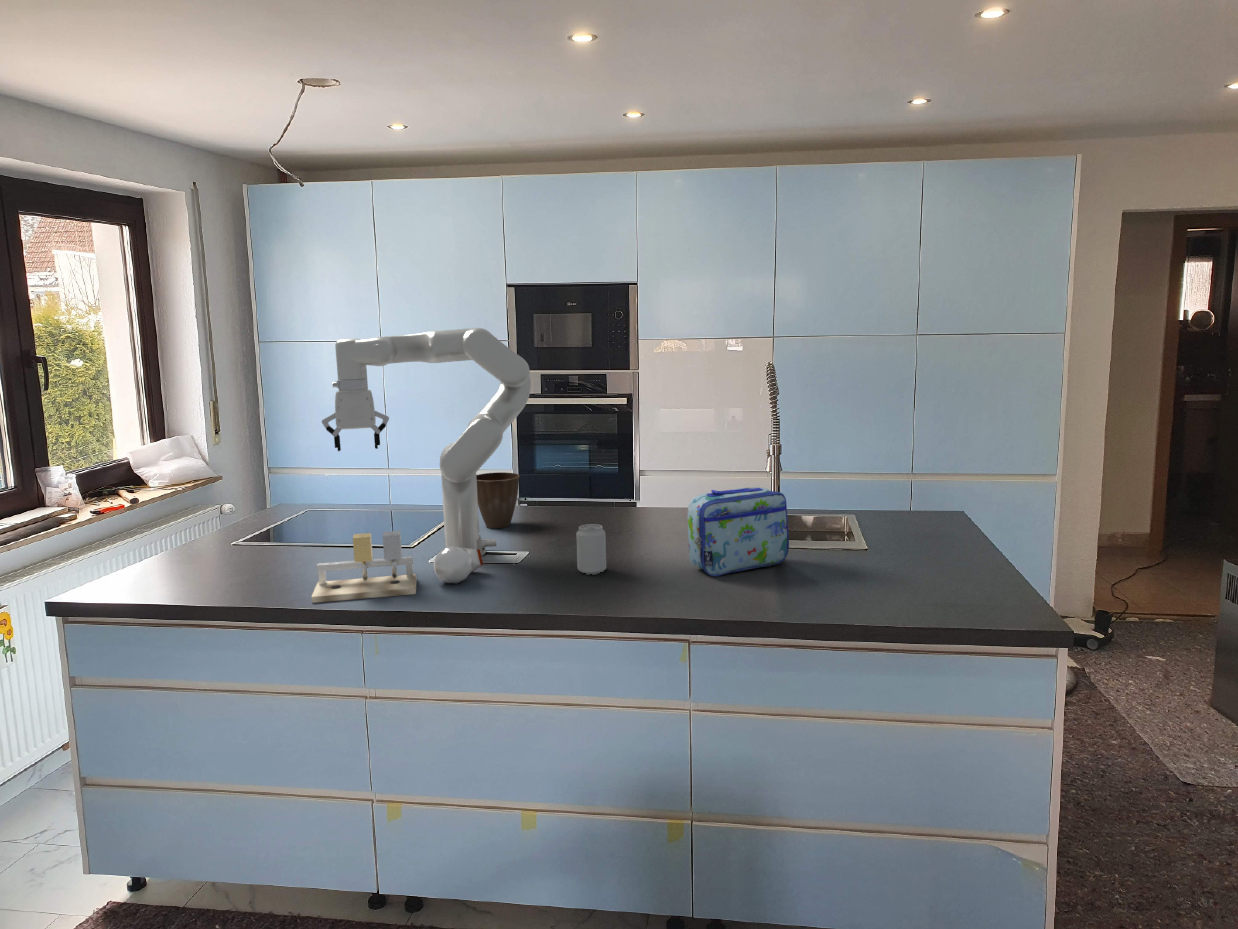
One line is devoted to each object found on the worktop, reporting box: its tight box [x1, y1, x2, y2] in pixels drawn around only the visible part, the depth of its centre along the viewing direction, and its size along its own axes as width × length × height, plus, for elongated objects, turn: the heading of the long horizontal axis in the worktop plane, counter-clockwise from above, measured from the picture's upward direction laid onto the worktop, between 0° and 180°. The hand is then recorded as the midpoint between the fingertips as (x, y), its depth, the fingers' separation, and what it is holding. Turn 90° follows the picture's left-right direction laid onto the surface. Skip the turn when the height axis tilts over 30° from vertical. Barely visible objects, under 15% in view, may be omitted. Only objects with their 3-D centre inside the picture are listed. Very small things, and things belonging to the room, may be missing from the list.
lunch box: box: [687, 486, 790, 577], centre depth 226 cm, size 26×11×21 cm, turn 111°
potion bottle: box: [433, 546, 484, 584], centre depth 223 cm, size 9×10×15 cm
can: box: [575, 523, 607, 575], centre depth 227 cm, size 8×8×12 cm
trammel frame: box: [316, 530, 414, 585], centre depth 216 cm, size 23×7×12 cm, turn 102°
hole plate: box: [310, 573, 417, 604], centre depth 216 cm, size 24×12×2 cm, turn 102°
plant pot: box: [476, 471, 520, 529], centre depth 277 cm, size 15×15×16 cm
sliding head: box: [352, 532, 374, 581], centre depth 216 cm, size 4×7×12 cm, turn 12°
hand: (357, 449), depth 237 cm, fingers open, 9 cm apart
